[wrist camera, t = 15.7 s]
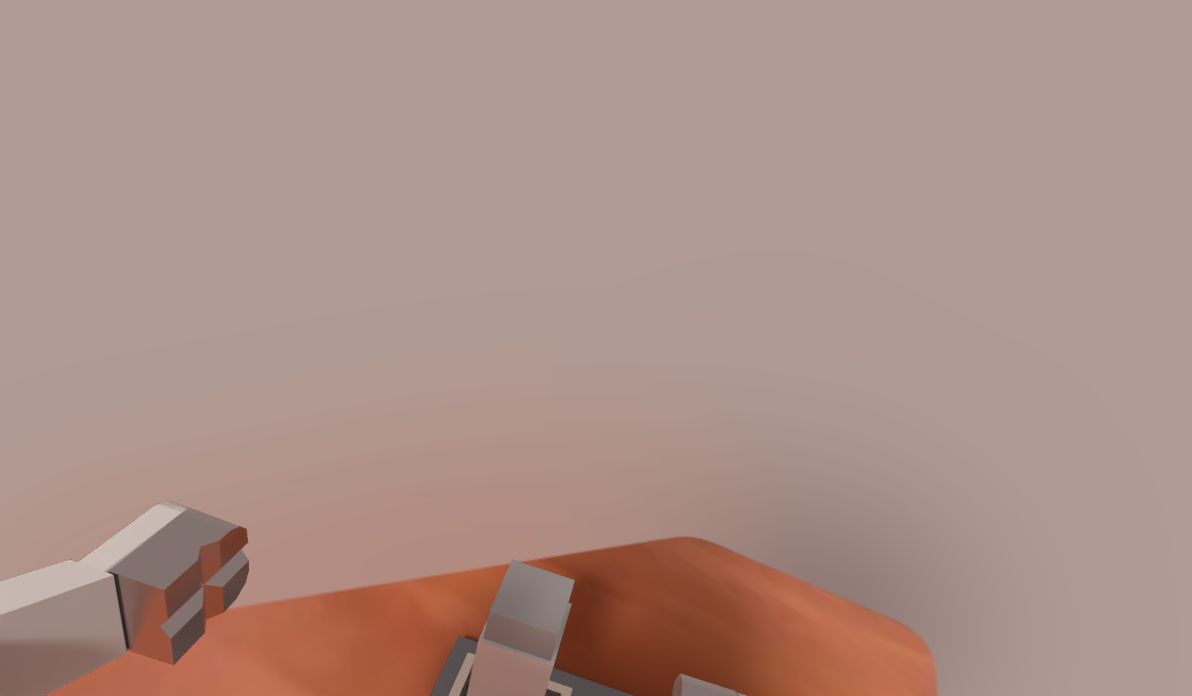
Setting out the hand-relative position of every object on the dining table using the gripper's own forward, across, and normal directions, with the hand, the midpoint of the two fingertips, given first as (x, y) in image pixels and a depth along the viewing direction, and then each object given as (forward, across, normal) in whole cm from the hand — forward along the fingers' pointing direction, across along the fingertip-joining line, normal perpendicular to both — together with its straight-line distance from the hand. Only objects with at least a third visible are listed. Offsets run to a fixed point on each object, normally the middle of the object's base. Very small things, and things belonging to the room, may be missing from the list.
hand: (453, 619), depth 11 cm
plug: (+15, 0, +29) cm, 33 cm away
